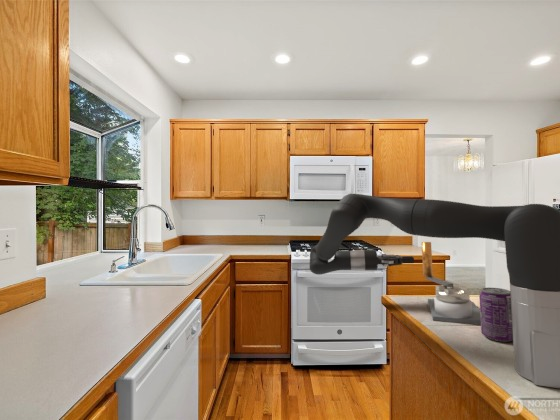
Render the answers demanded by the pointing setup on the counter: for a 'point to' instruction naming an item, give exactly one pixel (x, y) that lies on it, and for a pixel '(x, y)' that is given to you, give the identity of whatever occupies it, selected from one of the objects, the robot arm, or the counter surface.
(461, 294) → the hub and bar
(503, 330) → the beverage can
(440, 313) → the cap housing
